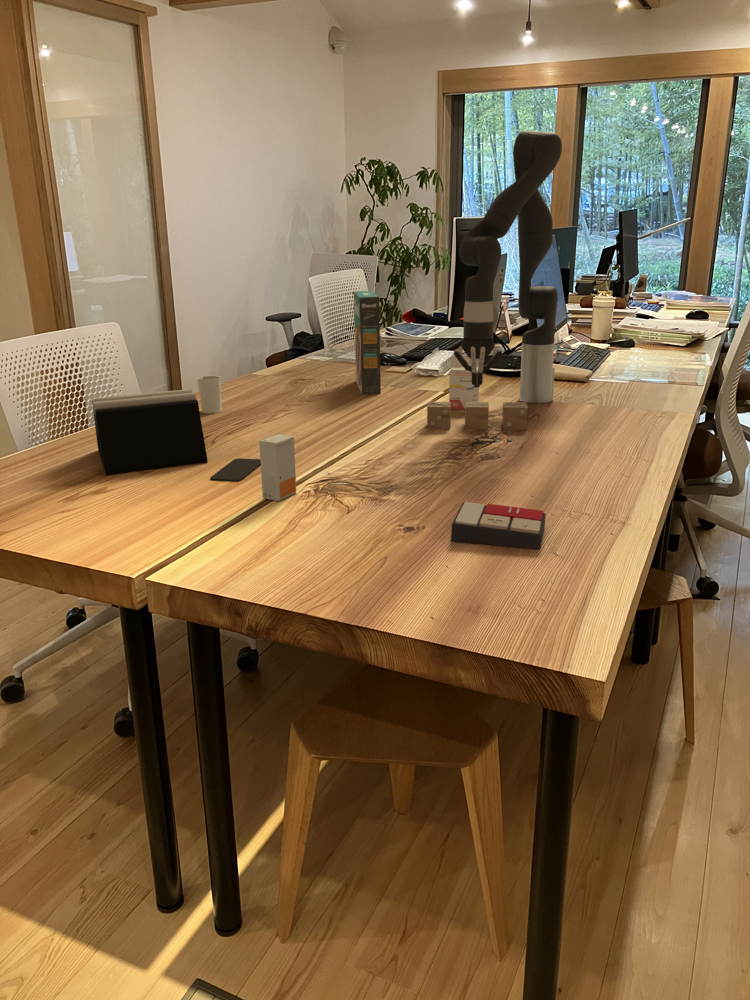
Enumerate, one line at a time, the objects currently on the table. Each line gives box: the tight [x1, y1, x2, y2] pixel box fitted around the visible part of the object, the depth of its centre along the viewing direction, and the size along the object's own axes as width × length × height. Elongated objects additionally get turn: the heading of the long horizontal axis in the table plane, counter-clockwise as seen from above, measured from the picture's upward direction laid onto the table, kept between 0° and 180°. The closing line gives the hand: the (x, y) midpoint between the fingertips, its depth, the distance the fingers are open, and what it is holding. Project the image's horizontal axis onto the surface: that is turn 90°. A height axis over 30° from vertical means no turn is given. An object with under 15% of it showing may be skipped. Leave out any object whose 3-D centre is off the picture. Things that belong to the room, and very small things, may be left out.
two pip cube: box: [502, 401, 529, 431], centre depth 205 cm, size 6×6×6 cm
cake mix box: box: [353, 290, 382, 395], centre depth 253 cm, size 22×6×30 cm, turn 6°
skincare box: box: [259, 433, 297, 502], centre depth 155 cm, size 6×4×12 cm
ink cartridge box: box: [448, 355, 480, 410], centre depth 225 cm, size 9×5×15 cm, turn 84°
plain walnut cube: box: [464, 401, 490, 431], centre depth 206 cm, size 6×6×6 cm
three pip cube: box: [426, 401, 452, 430], centre depth 207 cm, size 6×6×6 cm
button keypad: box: [450, 501, 547, 551], centre depth 136 cm, size 11×4×15 cm
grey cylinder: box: [197, 374, 223, 415], centre depth 228 cm, size 7×7×10 cm
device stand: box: [91, 388, 208, 477], centre depth 183 cm, size 22×22×15 cm
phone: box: [210, 457, 261, 483], centre depth 174 cm, size 7×1×15 cm
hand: (477, 386), depth 204 cm, fingers closed
